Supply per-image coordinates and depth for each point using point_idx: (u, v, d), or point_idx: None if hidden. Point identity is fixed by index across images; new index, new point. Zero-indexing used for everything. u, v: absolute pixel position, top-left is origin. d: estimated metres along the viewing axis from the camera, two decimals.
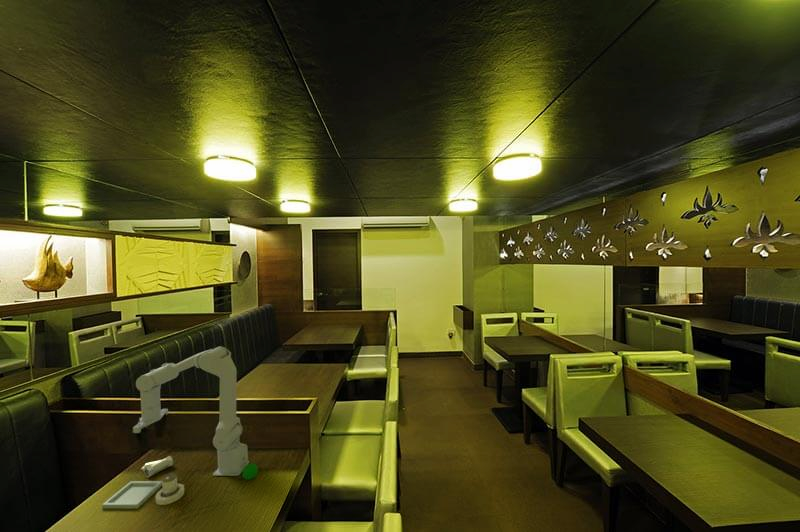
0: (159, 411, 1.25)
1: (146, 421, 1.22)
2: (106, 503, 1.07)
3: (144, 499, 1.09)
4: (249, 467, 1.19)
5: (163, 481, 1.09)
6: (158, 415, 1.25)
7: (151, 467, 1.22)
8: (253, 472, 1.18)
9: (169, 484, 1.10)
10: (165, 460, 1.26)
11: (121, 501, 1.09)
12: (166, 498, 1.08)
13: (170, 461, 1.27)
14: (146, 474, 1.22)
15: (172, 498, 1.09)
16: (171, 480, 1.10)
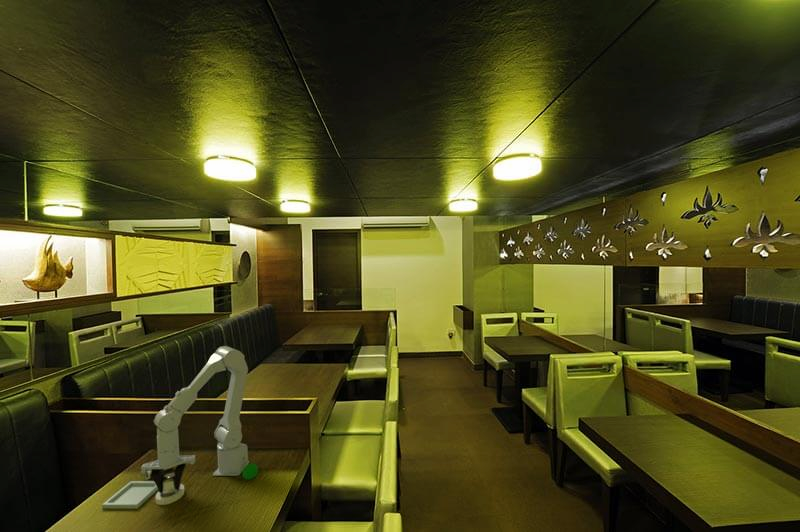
0: (167, 459, 1.08)
1: (157, 463, 1.10)
2: (106, 503, 1.07)
3: (144, 499, 1.09)
4: (249, 467, 1.19)
5: (163, 481, 1.09)
6: (164, 463, 1.08)
7: None
8: (253, 472, 1.18)
9: (169, 483, 1.10)
10: None
11: (121, 501, 1.09)
12: (166, 498, 1.08)
13: None
14: (146, 476, 1.21)
15: (172, 498, 1.09)
16: (171, 480, 1.10)
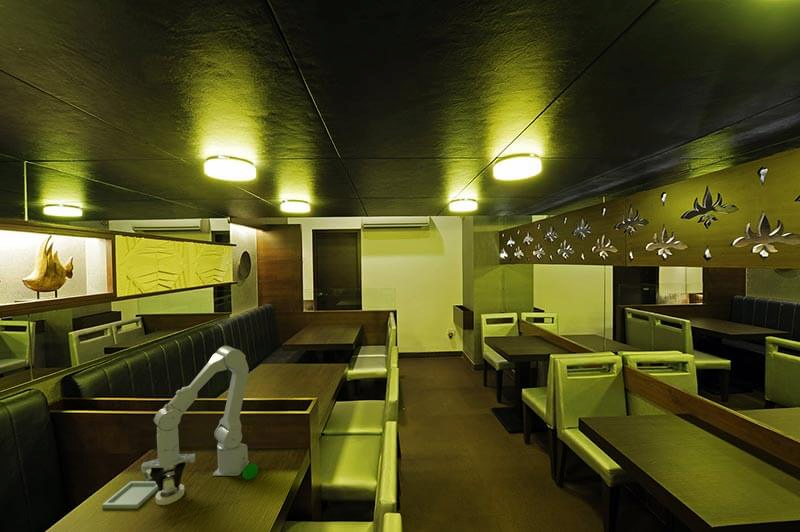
0: (167, 457, 1.08)
1: (157, 462, 1.10)
2: (106, 503, 1.07)
3: (144, 499, 1.09)
4: (249, 467, 1.19)
5: (163, 479, 1.09)
6: (164, 462, 1.08)
7: None
8: (253, 472, 1.18)
9: (169, 482, 1.10)
10: None
11: (121, 501, 1.09)
12: (166, 498, 1.08)
13: None
14: (146, 477, 1.20)
15: (172, 498, 1.09)
16: (171, 478, 1.10)
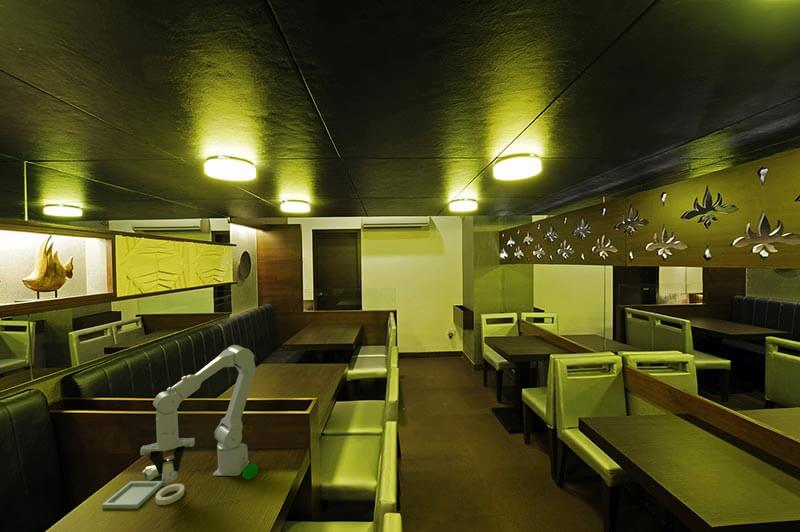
0: (166, 441, 1.08)
1: (157, 445, 1.10)
2: (106, 503, 1.07)
3: (144, 499, 1.09)
4: (249, 467, 1.19)
5: (162, 463, 1.09)
6: (164, 445, 1.08)
7: (150, 471, 1.19)
8: (253, 472, 1.18)
9: (168, 466, 1.09)
10: None
11: (121, 501, 1.09)
12: (166, 498, 1.08)
13: None
14: (146, 478, 1.20)
15: (172, 498, 1.09)
16: (170, 462, 1.10)
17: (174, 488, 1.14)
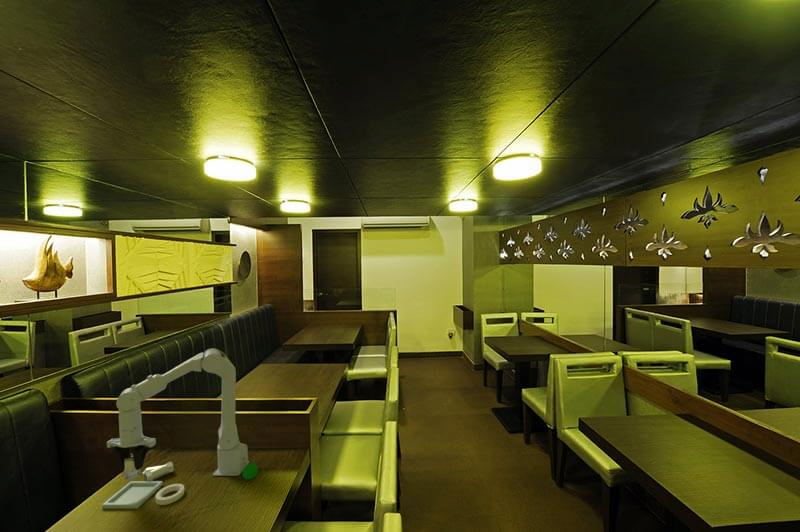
0: (125, 438, 1.08)
1: None
2: (106, 503, 1.07)
3: (144, 499, 1.09)
4: (249, 467, 1.19)
5: (124, 459, 1.10)
6: (123, 442, 1.08)
7: (150, 473, 1.19)
8: (253, 472, 1.18)
9: (128, 463, 1.09)
10: (165, 466, 1.22)
11: (121, 501, 1.09)
12: (166, 498, 1.08)
13: (170, 467, 1.23)
14: (145, 480, 1.19)
15: (172, 498, 1.09)
16: (130, 460, 1.10)
17: (174, 488, 1.14)
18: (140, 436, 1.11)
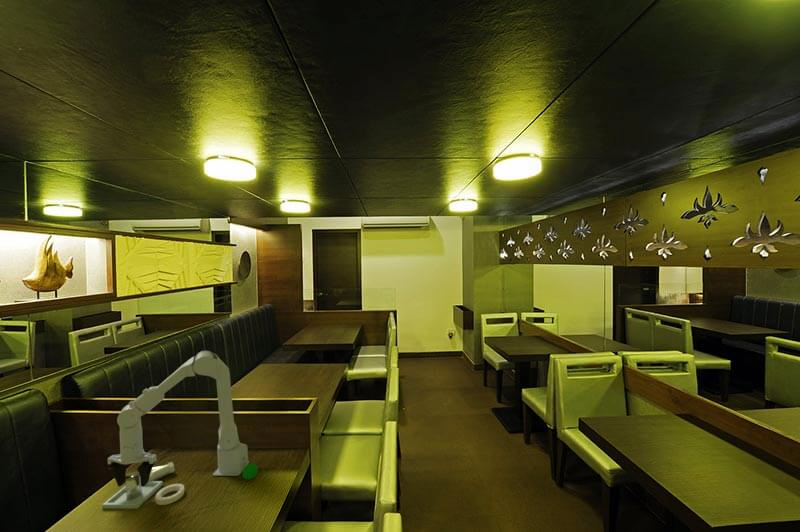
0: (126, 455, 1.08)
1: None
2: (106, 503, 1.07)
3: (144, 499, 1.09)
4: (249, 467, 1.19)
5: (125, 479, 1.10)
6: (124, 458, 1.08)
7: (151, 473, 1.18)
8: (253, 472, 1.18)
9: (130, 483, 1.10)
10: (166, 466, 1.22)
11: (121, 501, 1.09)
12: (166, 498, 1.08)
13: (171, 468, 1.23)
14: None
15: (172, 498, 1.09)
16: (132, 480, 1.10)
17: (174, 488, 1.14)
18: (141, 452, 1.11)
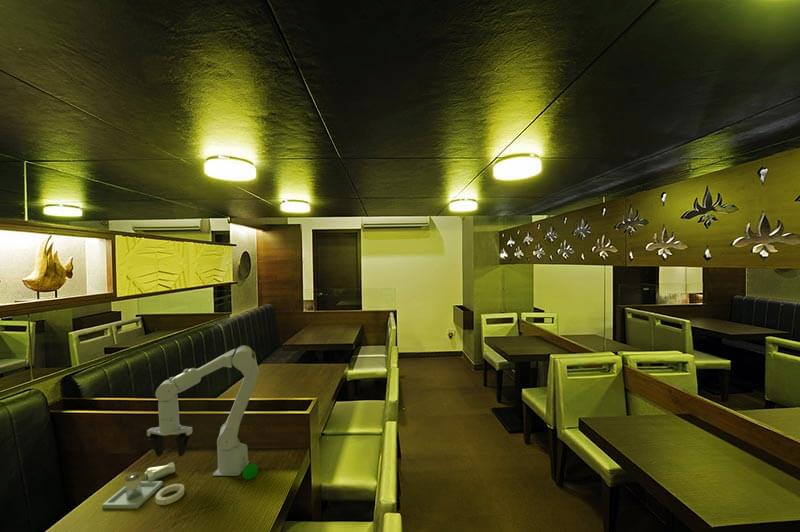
0: (164, 426, 1.15)
1: None
2: (106, 503, 1.07)
3: (144, 499, 1.09)
4: (249, 467, 1.19)
5: (125, 480, 1.10)
6: (163, 430, 1.15)
7: (151, 473, 1.18)
8: (253, 472, 1.18)
9: (130, 483, 1.09)
10: (167, 466, 1.22)
11: (121, 501, 1.09)
12: (166, 498, 1.08)
13: (172, 468, 1.23)
14: (147, 480, 1.19)
15: (172, 498, 1.09)
16: (132, 480, 1.10)
17: (174, 488, 1.14)
18: (178, 425, 1.18)
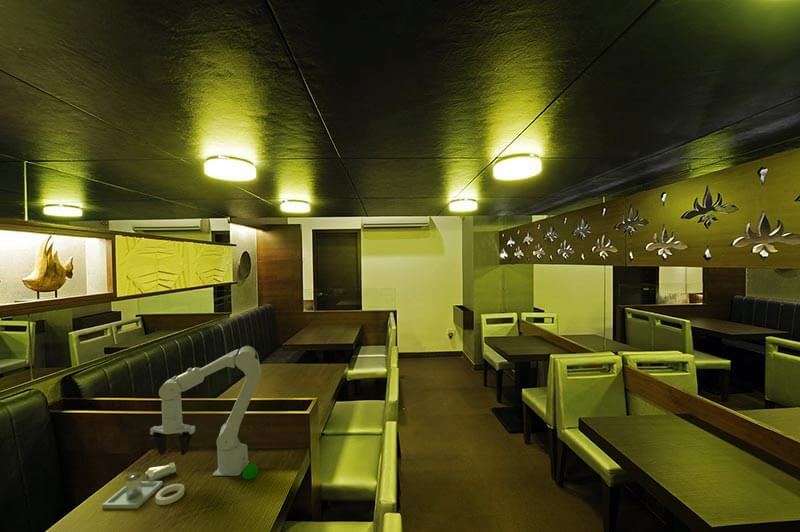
0: (168, 425, 1.16)
1: None
2: (106, 503, 1.07)
3: (144, 499, 1.09)
4: (249, 467, 1.19)
5: (126, 479, 1.10)
6: (166, 429, 1.16)
7: (152, 473, 1.18)
8: (253, 472, 1.18)
9: (131, 483, 1.10)
10: (168, 466, 1.22)
11: (121, 501, 1.09)
12: (166, 498, 1.08)
13: (173, 468, 1.22)
14: (148, 480, 1.19)
15: (172, 498, 1.09)
16: (133, 480, 1.10)
17: (174, 488, 1.14)
18: (181, 424, 1.19)
